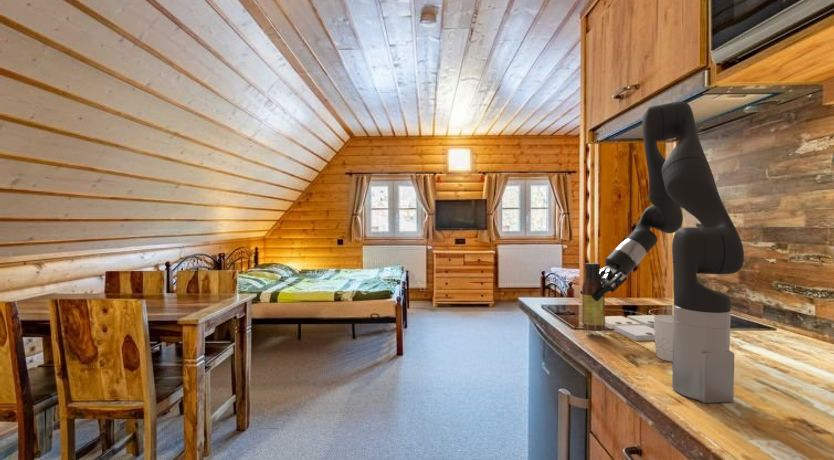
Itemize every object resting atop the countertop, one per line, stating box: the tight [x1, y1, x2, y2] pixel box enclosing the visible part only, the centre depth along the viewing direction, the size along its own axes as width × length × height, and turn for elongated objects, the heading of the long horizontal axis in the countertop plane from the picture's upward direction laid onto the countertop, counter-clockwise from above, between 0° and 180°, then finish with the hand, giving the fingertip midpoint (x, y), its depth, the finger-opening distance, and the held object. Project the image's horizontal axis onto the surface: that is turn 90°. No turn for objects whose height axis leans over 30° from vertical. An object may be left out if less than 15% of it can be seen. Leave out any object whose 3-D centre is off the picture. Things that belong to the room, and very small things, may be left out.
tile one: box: [614, 325, 655, 342], centre depth 118 cm, size 10×10×2 cm
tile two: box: [605, 315, 641, 330], centre depth 130 cm, size 10×10×2 cm
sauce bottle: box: [581, 262, 606, 332], centre depth 118 cm, size 7×6×20 cm
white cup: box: [653, 314, 674, 363], centre depth 98 cm, size 8×8×10 cm
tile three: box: [626, 314, 656, 329], centre depth 131 cm, size 10×10×2 cm
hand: (588, 296), depth 118 cm, fingers closed on sauce bottle, 6 cm apart
